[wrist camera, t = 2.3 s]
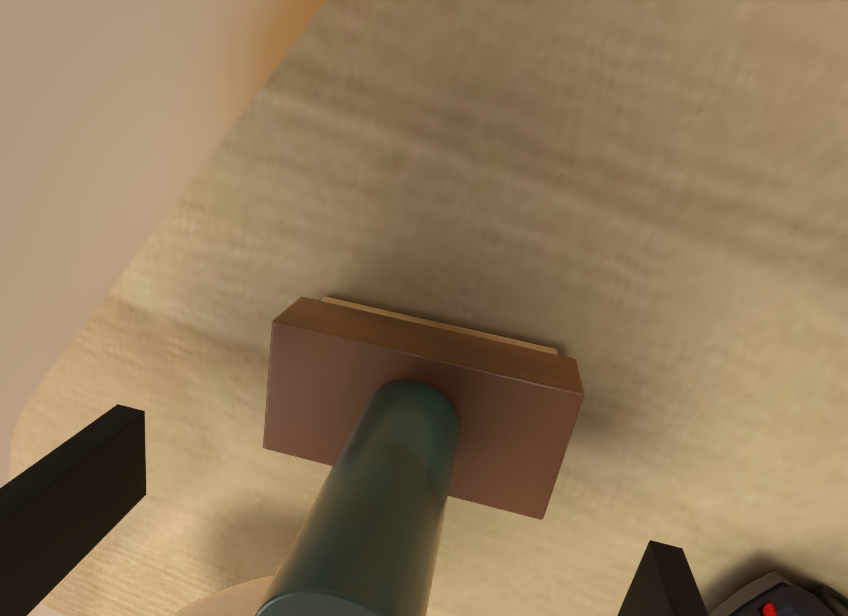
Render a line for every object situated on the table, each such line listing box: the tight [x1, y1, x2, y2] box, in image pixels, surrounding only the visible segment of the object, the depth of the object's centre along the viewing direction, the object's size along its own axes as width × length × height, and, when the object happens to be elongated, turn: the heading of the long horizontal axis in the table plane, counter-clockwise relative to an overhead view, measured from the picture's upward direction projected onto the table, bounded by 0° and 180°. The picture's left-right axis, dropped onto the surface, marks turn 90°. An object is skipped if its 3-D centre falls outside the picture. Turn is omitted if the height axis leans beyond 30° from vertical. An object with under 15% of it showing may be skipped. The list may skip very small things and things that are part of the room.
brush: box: [255, 297, 584, 616], centre depth 15 cm, size 10×5×12 cm, turn 80°
